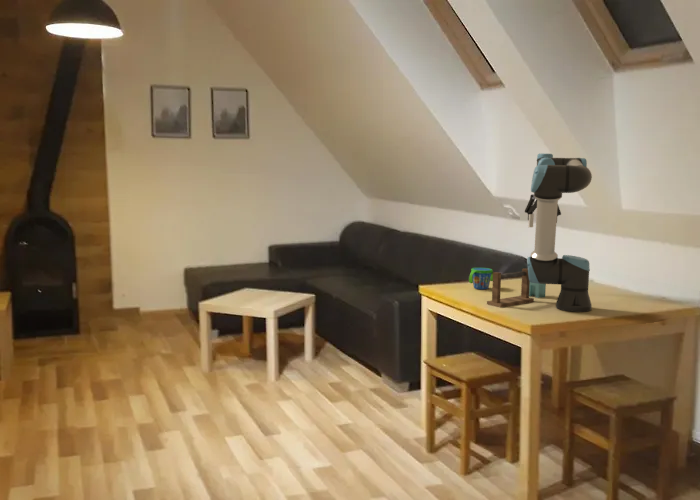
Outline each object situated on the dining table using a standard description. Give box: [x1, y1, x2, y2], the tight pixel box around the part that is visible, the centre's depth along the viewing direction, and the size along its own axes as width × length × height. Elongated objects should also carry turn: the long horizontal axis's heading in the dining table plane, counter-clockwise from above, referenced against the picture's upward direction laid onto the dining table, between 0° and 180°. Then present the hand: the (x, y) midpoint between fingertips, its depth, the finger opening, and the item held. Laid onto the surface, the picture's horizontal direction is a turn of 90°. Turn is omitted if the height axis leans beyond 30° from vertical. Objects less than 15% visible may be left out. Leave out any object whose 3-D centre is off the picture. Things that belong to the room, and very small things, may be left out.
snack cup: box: [468, 267, 494, 290], centre depth 369 cm, size 16×10×10 cm
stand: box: [486, 268, 535, 308], centre depth 333 cm, size 23×8×15 cm, turn 127°
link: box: [529, 282, 547, 299], centre depth 350 cm, size 5×7×8 cm
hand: (541, 228), depth 359 cm, fingers open, 13 cm apart
